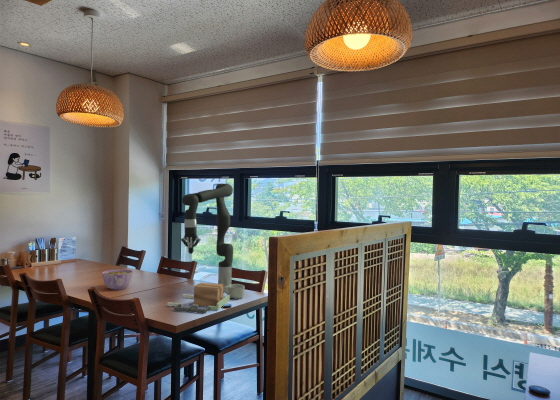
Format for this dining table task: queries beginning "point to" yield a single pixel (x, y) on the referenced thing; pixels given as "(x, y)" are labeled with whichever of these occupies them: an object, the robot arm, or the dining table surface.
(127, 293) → the dining table surface
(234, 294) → the teacup
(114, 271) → the bowl of food
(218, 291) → the block
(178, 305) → the lane
